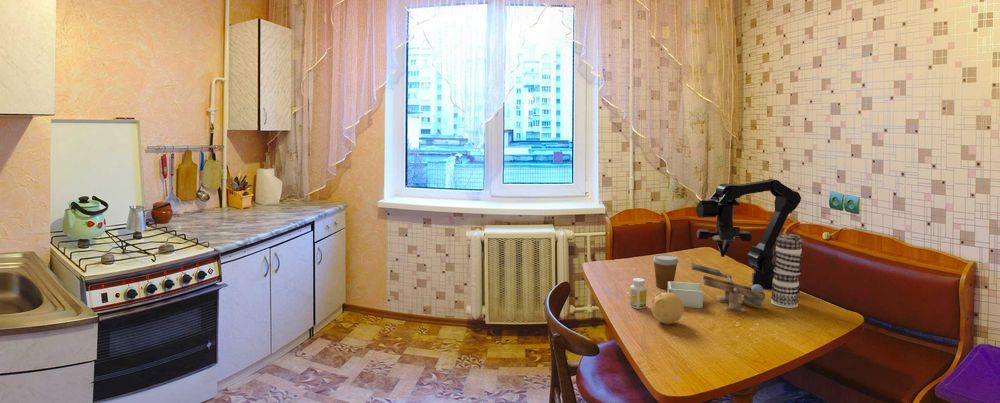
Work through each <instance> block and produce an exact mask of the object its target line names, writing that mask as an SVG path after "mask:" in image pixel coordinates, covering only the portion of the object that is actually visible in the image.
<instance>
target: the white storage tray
mask: <svg viewBox="0 0 1000 403" xmlns="http://www.w3.org/2000/svg"><path fill="white" fill-rule="evenodd" d="M666 291H667V292H668V293H673V294H675V295H676V296H678V297H679V298H680V300H681V301H682V303H683V307H684V308H693V309H695V308H696V309H703V304H704V291H703V290H701V283H699V282H698V283H697V282H683V281H674V282H671V281H668V289H666Z"/></svg>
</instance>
